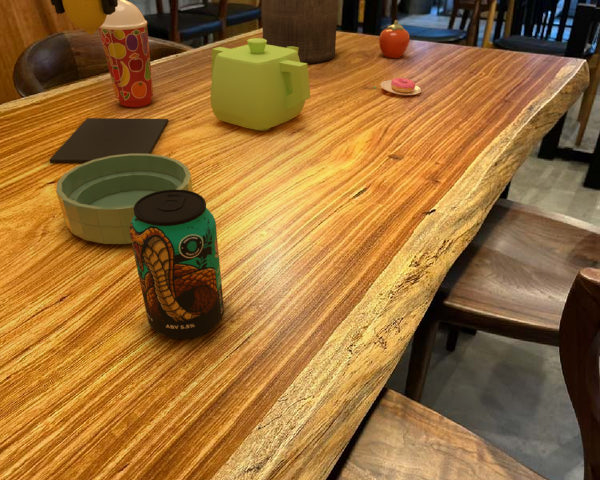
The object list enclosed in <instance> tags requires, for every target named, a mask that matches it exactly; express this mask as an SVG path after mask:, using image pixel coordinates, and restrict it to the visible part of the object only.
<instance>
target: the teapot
mask: <svg viewBox="0 0 600 480" xmlns="http://www.w3.org/2000/svg"><path fill="white" fill-rule="evenodd" d="M246 42H247V44H245V45H241V46H236V47H233V48H228V47H224V46H223V47H222V46H218V47H214V48H211V77H210V78H211V83H210V106H211V110H212V112H213V114H214V116H215V118H216V119H217V120H219V121H222V122H224V123H228V124H232V125H235V126H239V127H242V128H246V129H251V130H255V131H259V132H264V131H265V132H266V131H269V130H270V129H271V128H274V127H276V126H280V125H282V124H285V123H287V122H290V121H291V120H293V119H294V118H296V117H297V116H299V115H300V114H301V113H302V111H303V109H304V106H305V103H306V101H307V100H309V99H310V98H311V88H310V76H309V68H308V64H307V63H301V62H300V60H299V56H298V49H299V48H298V47H287V48H284V47H278V46H273V45H267V44H266V43H267V40H265V39H263V37H253V38H248V39H247V40H246Z"/></svg>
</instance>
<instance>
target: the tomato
mask: <svg viewBox="0 0 600 480" xmlns="http://www.w3.org/2000/svg"><path fill="white" fill-rule="evenodd" d="M410 36H411V35H410V34H409V32H408V30H406V29H405V28H404V26H403V25H401V24H399V21H398V20H397V19H395V20H394V22H393V24H390V25H388V26H386V28H385V29H383V30H382V31H381V32H380V34H379V38H378V44H379V49H380V52H381V54H383V56H384V57H386V58H388V59H399V58H401V57H402V56H403V55H404V54H405V53H406V51H407V49H408V47H409V45H410V40H411V39H410Z"/></svg>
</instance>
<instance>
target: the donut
mask: <svg viewBox="0 0 600 480" xmlns="http://www.w3.org/2000/svg"><path fill="white" fill-rule="evenodd" d="M379 86H380V87H381V88H382V90H385V91H386V92H388V93H391V94H394V95H397V96H405V97H406V96H407V97H408V96H409V97H410V96H415V95H418V94H420V93H421V92H422V89H421V87H420V86H418V85H416V83H415V82H414V80H413V79H410V78H409V79H408V78H406V77H394V78H393V79H389V80H384V81H382V82H380V84H379ZM366 88H370V89H371V88H372V85H369V86H367V85H366ZM373 88H374V89H376V88H377V87H376V86H374V87H373Z"/></svg>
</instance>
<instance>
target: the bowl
mask: <svg viewBox="0 0 600 480" xmlns="http://www.w3.org/2000/svg"><path fill="white" fill-rule="evenodd" d="M172 189H176V190H187V191H192V192H194V189H193V181H192V175H191V172H190V169H189V167H188V166H187V165H185V163H183V162H182V161H180V160H178V159H176V158H172V157H169V156H166V155H161V154H153V153H151V154H122V155H113V156H108V157H103V158H99V159H95V160H91V161H89V162H86V163H80V164H78V165H76V166H74V167H73V168H71V169H69V170H68V171H67V172H65V173H64V174H63V175H62V176H61V177H60V178H59V180H57V182H56V190H55V192H56V195H57V199H58V203H59V206H60V210H61V213H62V216H63V220H64V223H65V226H66V227H67V229H69V231H70V233H71V234H72V235H74V236H76V237H78V238H80V239H82V240H84V241H88V242H92V243H97V244H101V245H102V244H104V245H128V244H132V242H131V237H130V231H129V227H130V223H131V221H132V219H133V217H134V209H133V208H134V205H135V204H136V202H137V201H138V200H140V199H141V198H142V197H144V196H146V195H148V194H151V193H154V192H158V191H163V190H172Z"/></svg>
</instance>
